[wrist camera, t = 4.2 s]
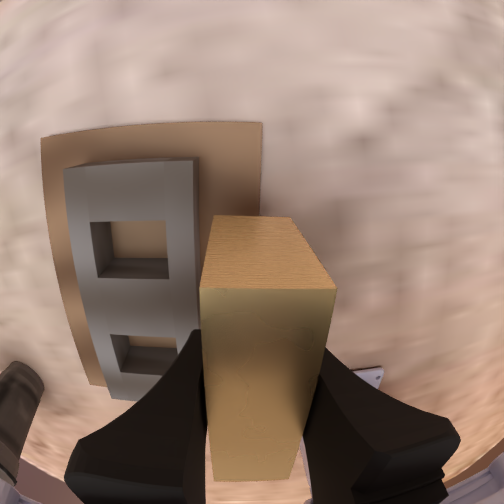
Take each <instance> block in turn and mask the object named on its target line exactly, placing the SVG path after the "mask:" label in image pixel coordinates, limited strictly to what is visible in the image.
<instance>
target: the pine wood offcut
mask: <svg viewBox="0 0 504 504" xmlns="http://www.w3.org/2000/svg"><path fill="white" fill-rule="evenodd" d="M199 292H200V317H201V337H202V355H203V370H204V384H205V397H206V409H207V421H208V431H209V441H210V451H211V460H212V469H213V477H214V481H223V482H241V481H268V480H283V479H289V476H290V473H291V470H292V467H293V464H294V461H295V458H296V455H297V452H298V448H299V445H300V442H301V438H302V435H303V432H304V428H305V425H306V421H307V418H308V414H309V411H310V407H311V403H312V400H313V396H314V392H315V388H316V384H317V380H318V376H319V372H320V368H321V364H322V360H323V355H324V351H325V346H326V342H327V337H328V333H329V328H330V323H331V318H332V313H333V308H334V303H335V298H336V292H337V287H336V286H335V284H334V283H333V281H332V280H331V278H330V276H329V275H328V273H327V272H326V270H325V269H324V267H323V266H322V264H321V263H320V261H319V260H318V258H317V257H316V255H315V254H314V252H313V251H312V249H311V248H310V246H309V245H308V243H307V242H306V240H305V239H304V237H303V236H302V234H301V233H300V231H299V230H298V228H297V227H296V225H295V224H294V222H293V221H292V220H291V218H290V217H265V216H226V215H214V217H213V222H212V226H211V231H210V236H209V241H208V246H207V251H206V256H205V261H204V266H203V271H202V276H201V282H200V287H199Z"/></svg>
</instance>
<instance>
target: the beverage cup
mask: <svg viewBox="0 0 504 504" xmlns="http://www.w3.org/2000/svg"><path fill="white" fill-rule="evenodd" d="M43 391H44V385H43V382H42V380H41V379H40V377H39V376H38V375H37V374H36V373H35V372H34V371H33V370H32V369H31V368H30V367H28V366H27V365H25V364H23V363H20V362H12V363H11V364H10V366H9V367H8V368H7V369H6V370H4V371H3V372H2V373H1V374H0V479H2V480H4V481H6V482H7V483H9V484H10V485H11V486H15V485H16V483H17V481H16V477H17V474H18V468H19V459H20V455H21V452H22V449H23V446H24V443H25V440H26V437H27V434H28V432H29V429H30V426H31V423H32V421H33V418H34V415H35V413H36V410H37V407H38V405H39V402H40V398H41V396H42V393H43Z"/></svg>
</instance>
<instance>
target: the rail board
mask: <svg viewBox="0 0 504 504" xmlns="http://www.w3.org/2000/svg"><path fill="white" fill-rule="evenodd" d="M261 148H262V123H256V122H180V123H159V124H144V125H132V126H121V127H111V128H102V129H94V130H87V131H80V132H73V133H66V134H60V135H54V136H49V137H44V138H41V164H42V179H43V191H44V201H45V210H46V218H47V225H48V231H49V238H50V244H51V249H52V255H53V260H54V265H55V270H56V275H57V279H58V283H59V288H60V292H61V296H62V300H63V304H64V307H65V311H66V315H67V318H68V322H69V325H70V329H71V332H72V335H73V338H74V341H75V344H76V347H77V350H78V353H79V356H80V359H81V362H82V365H83V367H84V370H85V373H86V376H87V378H88V381H89V383H90V385H96V386H103V387H108V390H109V392H110V395H111V398H112V399H120V400H128V401H139V400H140V399H141V398H142V397H143V396H144V395H145V394H146V393H147V392H148V391H149V390H150V389H151V388H152V387H153V386H154V385H155V384H156V383H157V382H158V381H159V379H160V378H161V377H162V376H163V375H164V373H165V372H166V371H167V370H168V368H169V367H170V366H171V364H172V363H173V362H174V360H175V359H176V357H177V356H178V354H179V353H180V351H181V350H182V348H183V346H184V345H185V343H186V341H187V339H188V337H189V336H190V333H191V331H193V330H194V329H201V317H200V292H199V287H200V282H201V276H202V271H203V266H204V261H205V256H206V251H207V246H208V241H209V236H210V231H211V226H212V222H213V217H214V215H226V216H259V203H260V176H261Z"/></svg>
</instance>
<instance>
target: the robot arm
mask: <svg viewBox="0 0 504 504" xmlns="http://www.w3.org/2000/svg"><path fill="white" fill-rule="evenodd" d="M383 375H384V370H383V368H381V367H379V368H373V369H366V370H359V371H351V370H350V369H349V368H347V367H346V366H345V365H344V364H343V363H342V362H340V361H339V360H338V359H337V358H336V357H335V356H334V355H333V354H332V353H331V352H330V351H329V350H328V349H327V348H326V347H325V351H324V355H323V360H322V364H321V368H320V372H319V376H318V380H317V384H316V388H315V392H314V396H313V400H312V403H311V407H310V411H309V414H308V418H307V421H306V425H305V428H304V432H303V435H302V438H301V442H300V450H301V454H302V459H303V463H304V467H305V472H306V476H307V481H308V483H309V486H310V492H311V496H312V498H311V499H308V500H306V501H305V502H304V504H504V452H503V453H502V454H500V455H499V456H498V457H497V458H496V459H495V460H494V461H493V462H492V463H491V464H490V465H489V467H488V468H486V469H484V470H483V471H481V472H479V473H477V474H475V475H474V476H472V477H470V478H468V479H466V480H464V481H462V482H460V483H458V484H456V485H454V486H452V487H450V488H448V489H446V488H445V486H444V484H443V482H442V480H441V479H443V478H444V476H445V474H444V472H443V470H442V467H443V466H444V464H445V463H446V462H447V461H448V460H449V459H450V457H451V456H452V455H453V454H454V453H455V451H456V450H457V448H458V446H459V444H460V441H461V439H460V436H459V434H458V433H457V431H456V430H455V428H454V427H453V425H452V423H451V422H450V420H449V419H448V418H445V417H441V416H438V415H435V414H431V413H428V412H425V411H422V410H419V409H417V408H414V407H412V406H409V405H407V404H405V403H403V402H400V401H398V400H396V399H394V398H392V397H391V396H389V395H387V394H385V393H383V392H381V391H380V390H378V388H379V385H380V382H381V380H382V377H383ZM207 426H208V421H207V409H206V397H205V384H204V370H203V355H202V337H201V329H194V330H193V331H191V333H190V336H189V337H188V339H187V341H186V343H185V345H184V346H183V348H182V350H181V351H180V353H179V354H178V356H177V357H176V359H175V360H174V362H173V363H172V364H171V366H170V367H169V368H168V370H167V371H166V372H165V373H164V375H163V376H162V377H161V378H160V379H159V381H158V382H157V383H156V384H155V385H154V386H153V387H152V388H151V389H150V390H149V391H148V392H147V393H146V394H145V395H144V396H143V397H142V398H141V399H140V400H139V401H138V402H137V403H135V404H134V405H133V406H132V407H131V408H130V409H128V410H127V411H126V412H125V413H123V414H122V415H120V416H119V417H117V418H116V419H115V420H113V421H112V422H110V423H109V424H107V425H106V426H104V427H103V428H101V429H99V430H97V431H95V432H93V433H91V434H90V435H88V436H86V437H84V438H82V439H79V440H78V442H77V444H76V446H75V448H74V450H73V452H72V454H71V456H70V459H69V462H68V465H67V468H66V472H65V475H64V481H65V482H66V484H67V485H68V487H69V488H70V489H71V490H72V492H74V493H75V494H76V496H77V497H78V498H79V499H80V500H81V501H82V502H83V503H84V504H206V497H205V445H206V434H207ZM0 504H42V503H40V502H37V501H34V500H32V499H30V498H27V497H25V496H23V495H21V494H19V492H18V491H17V490H16V489H15V488H14V487H13V486H11V485H10V484H9V483H7V482H6V481H4V480H2V479H0Z"/></svg>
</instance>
